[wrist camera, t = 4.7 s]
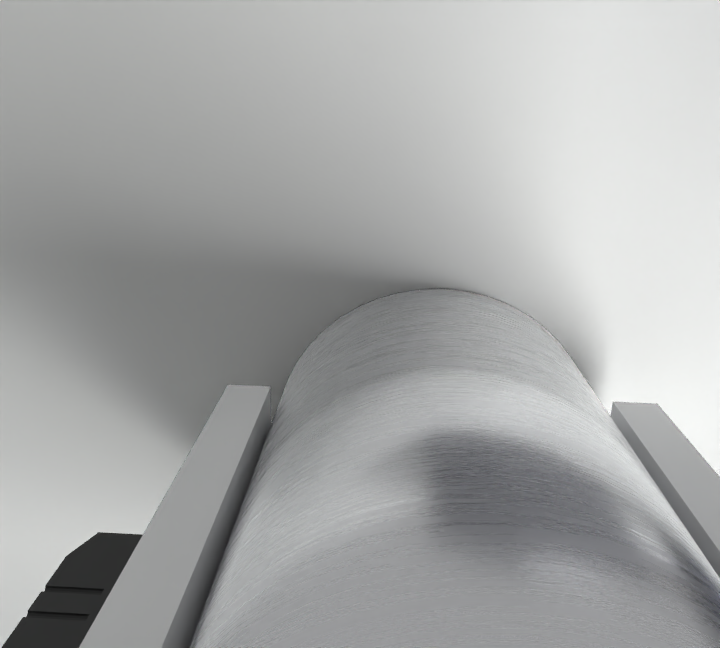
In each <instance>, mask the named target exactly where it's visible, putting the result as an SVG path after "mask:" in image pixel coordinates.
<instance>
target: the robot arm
mask: <svg viewBox="0 0 720 648" xmlns="http://www.w3.org/2000/svg"><path fill="white" fill-rule="evenodd" d="M611 418H612V419H613V421H614V422H615V424H616V425H617V427H618V428H619V430H620V431H621V433H622V434H623V436H624V437H625V439H626V440H627V441H628V443H629V444H630V446H631V447H632V449H633V450H634V452H635V453H636V455H637V456H638V458H639V459H640V461H641V462H642V464H643V465H644V467H645V468H646V470H647V471H648V473H649V474H650V476H651V477H652V479H653V480H654V481H655V483H656V484H657V486H658V487H659V489H660V490H661V492H662V493H663V495H664V496H665V498H666V499H667V501H668V502H669V504H670V505H671V507H672V508H673V510H674V511H675V513H676V514H677V516H678V517H679V519H680V520H681V522H682V523H683V524H684V526H685V527H686V529H687V530H688V532H689V533H690V535H691V536H692V538H693V539H694V541H695V542H696V544H697V545H698V547H699V548H700V550H701V551H702V553H703V554H704V556H705V557H706V559H707V560H708V562H709V563H710V565H711V566H712V567H713V569H714V570H715V572H716V573H717V575H718V576H719V578H720V477H719V476H718V474H717V473H716V472H715V471H714V470H713V469H712V467H711V466H710V465H709V464H708V463H707V462H706V460H705V459H704V458H703V457H702V456H701V455H700V453H699V452H698V451H697V450H696V449H695V447H694V446H693V445H692V444H691V443H690V442H689V440H688V439H687V438H686V437H685V436H684V435H683V433H682V432H681V431H680V430H679V429H678V427H677V426H676V425H675V424H674V423H673V422H672V420H671V419H670V418H669V417H668V416H667V415H666V413H665V412H664V411H663V410H662V409H661V408H660V406H659V405H658V404H651V403H629V402H613V405H612V411H611ZM270 427H271V387H270V386H247V385H228V386H227V387H226V389H225V391H224V393H223V394H222V396H221V398H220V400H219V401H218V403H217V405H216V407H215V408H214V410H213V412H212V414H211V415H210V417H209V419H208V421H207V423H206V424H205V426H204V428H203V430H202V431H201V433H200V435H199V437H198V438H197V440H196V442H195V444H194V445H193V447H192V449H191V451H190V453H189V454H188V456H187V458H186V460H185V461H184V463H183V465H182V467H181V468H180V470H179V472H178V474H177V475H176V477H175V479H174V481H173V483H172V484H171V486H170V488H169V490H168V491H167V493H166V495H165V497H164V498H163V500H162V502H161V504H160V505H159V507H158V509H157V511H156V513H155V514H154V516H153V518H152V520H151V521H150V523H149V525H148V527H147V528H146V530H145V532H144V534H143V535H138V534H119V533H100V532H99V533H97V534H96V535H94V536H93V537H92V538H90V539H89V540H88V541H86V542H85V543H84V544H82V545H81V546H79V547H78V548H77V549H75V550H74V551H73V552H71V553H70V554H69V555H67V556H66V557H65V559H64V560H63V562H62V563H61V564H60V566H59V567H58V569H57V570H56V572H55V573H54V574H53V576H52V577H51V579H50V580H49V581H48V583H47V584H46V588H45V591H44V592H41V593H40V594H39V596H38V597H37V598H36V600H35V601H34V603H33V604H32V605H31V607H30V608H29V610H28V614H27V617H23V618H22V620H21V621H20V622H19V624H18V625H17V627H16V628H15V630H14V631H13V632H12V634H11V635H10V637H9V638H8V639H7V641H6V642H5V644H4V645H3V647H2V648H189V647H190V644H191V642H192V639H193V636H194V634H195V631H196V628H197V625H198V623H199V620H200V617H201V614H202V612H203V609H204V606H205V604H206V601H207V598H208V595H209V593H210V590H211V587H212V585H213V582H214V579H215V576H216V574H217V571H218V568H219V566H220V563H221V560H222V557H223V555H224V552H225V549H226V547H227V544H228V541H229V538H230V536H231V533H232V530H233V528H234V525H235V522H236V519H237V517H238V514H239V511H240V508H241V506H242V503H243V500H244V498H245V495H246V492H247V489H248V487H249V484H250V481H251V479H252V476H253V473H254V470H255V468H256V465H257V462H258V460H259V457H260V454H261V451H262V449H263V446H264V443H265V441H266V438H267V435H268V432H269V430H270Z"/></svg>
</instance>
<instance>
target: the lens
mask: <svg viewBox="0 0 720 648" xmlns="http://www.w3.org/2000/svg"><path fill="white" fill-rule="evenodd" d="M189 648H720V578H719V576H718V575H717V573H716V572H715V570H714V569H713V567H712V566H711V565H710V563H709V562H708V560H707V559H706V557H705V556H704V554H703V553H702V551H701V550H700V548H699V547H698V545H697V544H696V542H695V541H694V539H693V538H692V536H691V535H690V533H689V532H688V530H687V529H686V527H685V526H684V524H683V523H682V522H681V520H680V519H679V517H678V516H677V514H676V513H675V511H674V510H673V508H672V507H671V505H670V504H669V502H668V501H667V499H666V498H665V496H664V495H663V493H662V492H661V490H660V489H659V487H658V486H657V484H656V483H655V481H654V480H653V479H652V477H651V476H650V474H649V473H648V471H647V470H646V468H645V467H644V465H643V464H642V462H641V461H640V459H639V458H638V456H637V455H636V453H635V452H634V450H633V449H632V447H631V446H630V444H629V443H628V441H627V440H626V439H625V437H624V436H623V434H622V433H621V431H620V430H619V428H618V427H617V425H616V424H615V422H614V421H613V419H612V418H611V416H610V415H609V413H608V412H607V410H606V409H605V407H604V406H603V404H602V403H601V401H600V400H599V398H598V397H597V396H596V394H595V393H594V391H593V390H592V388H591V387H590V385H589V384H588V382H587V381H586V379H585V378H584V376H583V375H582V373H581V372H580V370H579V369H578V367H577V366H576V364H575V363H574V361H573V360H572V358H571V357H570V356H569V354H568V353H567V352H566V350H565V349H564V348H563V347H562V345H561V344H560V343H559V342H558V340H557V339H556V338H555V337H554V336H553V335H552V334H550V333H549V332H548V331H547V330H546V329H545V328H544V327H543V326H542V325H541V324H539V323H538V322H536V321H535V320H534V319H532V318H531V317H530V316H528V315H527V314H525V313H523V312H522V311H520V310H518V309H516V308H514V307H512V306H510V305H508V304H506V303H504V302H501V301H498V300H496V299H493V298H490V297H488V296H484V295H480V294H476V293H471V292H467V291H460V290H450V289H420V290H413V291H406V292H400V293H396V294H392V295H389V296H385V297H382V298H378V299H376V300H373V301H371V302H369V303H366V304H364V305H362V306H359V307H357V308H356V309H354V310H352V311H351V312H349V313H347V314H345V315H344V316H342V317H340V318H339V319H338V320H336V321H335V322H334V323H333V324H331V325H330V326H329V327H327V328H326V329H325V330H324V331H323V332H322V333H321V334H320V335H319V336H318V337H317V338H316V339H315V340H314V341H313V342H312V343H311V344H310V345H309V346H308V348H307V349H306V350H305V352H304V353H303V354H302V356H301V357H300V358H299V360H298V361H297V363H296V365H295V367H294V369H293V371H292V372H291V374H290V376H289V378H288V381H287V383H286V386H285V389H284V392H283V394H282V397H281V400H280V403H279V405H278V408H277V411H276V413H275V416H274V419H273V422H272V424H271V427H270V430H269V432H268V435H267V438H266V441H265V443H264V446H263V449H262V451H261V454H260V457H259V460H258V462H257V465H256V468H255V470H254V473H253V476H252V479H251V481H250V484H249V487H248V489H247V492H246V495H245V498H244V500H243V503H242V506H241V508H240V511H239V514H238V517H237V519H236V522H235V525H234V528H233V530H232V533H231V536H230V538H229V541H228V544H227V547H226V549H225V552H224V555H223V557H222V560H221V563H220V566H219V568H218V571H217V574H216V576H215V579H214V582H213V585H212V587H211V590H210V593H209V595H208V598H207V601H206V604H205V606H204V609H203V612H202V614H201V617H200V620H199V623H198V625H197V628H196V631H195V634H194V636H193V639H192V642H191V644H190V647H189Z"/></svg>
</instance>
